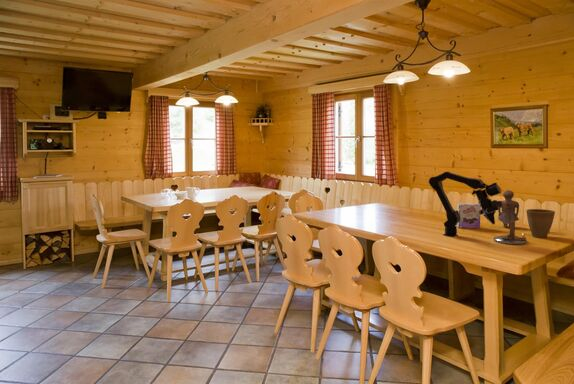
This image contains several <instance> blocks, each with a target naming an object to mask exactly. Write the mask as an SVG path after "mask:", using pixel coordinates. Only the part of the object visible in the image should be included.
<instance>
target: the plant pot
mask: <svg viewBox="0 0 574 384" xmlns="http://www.w3.org/2000/svg"><path fill="white" fill-rule="evenodd" d="M525 211H526V218H527V222H528V227H529V230H530V233H531V235H532V237H534V238H539V239H544V238H547V237H548V235H549V233H550V231H551V228H552V225H553V222H554V219H555V213H556V211H555V210H551V209H540V208H539V209H538V208H536V209H535V208H531V209H526V210H525Z"/></svg>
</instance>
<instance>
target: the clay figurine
mask: <svg viewBox="0 0 574 384" xmlns="http://www.w3.org/2000/svg"><path fill="white" fill-rule="evenodd" d="M502 195H503V197H504V199H505V200H501V201H502V206H501V207H498V209H499V210H497V212H498V218H497V219H498V221H499V222H502V224H503V227H504V228H507V227H508V228H510V221H515V222H516V221H519V220H520V218H519V217H518V216H519V212H520V204H519V202H518V201H515V200H513V197H514V195H515V193H514V191H512V190H509V189H508V190H505V191H504V192H503V193H502Z"/></svg>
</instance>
